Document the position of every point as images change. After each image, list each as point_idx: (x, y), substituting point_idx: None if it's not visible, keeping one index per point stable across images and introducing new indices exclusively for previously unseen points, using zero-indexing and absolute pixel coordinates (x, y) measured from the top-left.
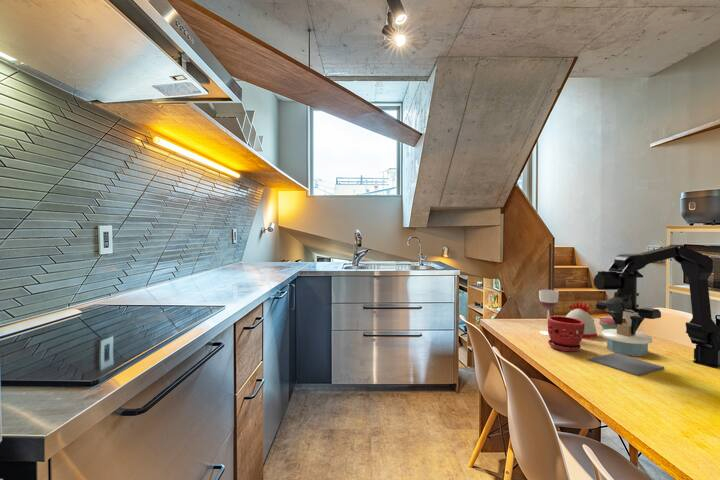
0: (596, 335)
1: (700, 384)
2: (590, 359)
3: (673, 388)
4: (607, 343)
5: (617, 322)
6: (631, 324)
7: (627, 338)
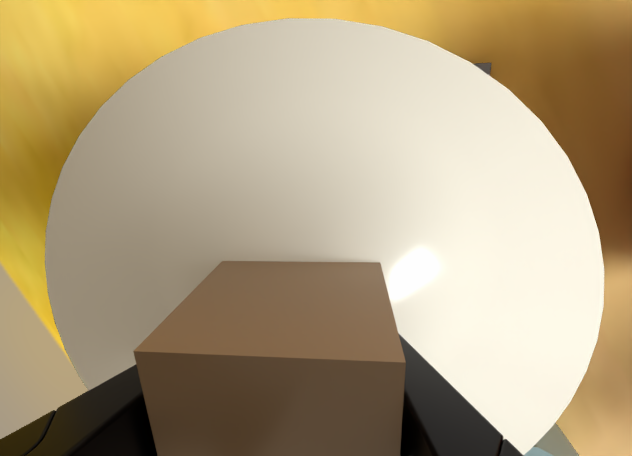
0: None
1: (38, 261)
2: (477, 65)
3: (11, 81)
4: (554, 424)
5: (431, 443)
6: (83, 440)
7: (159, 146)
